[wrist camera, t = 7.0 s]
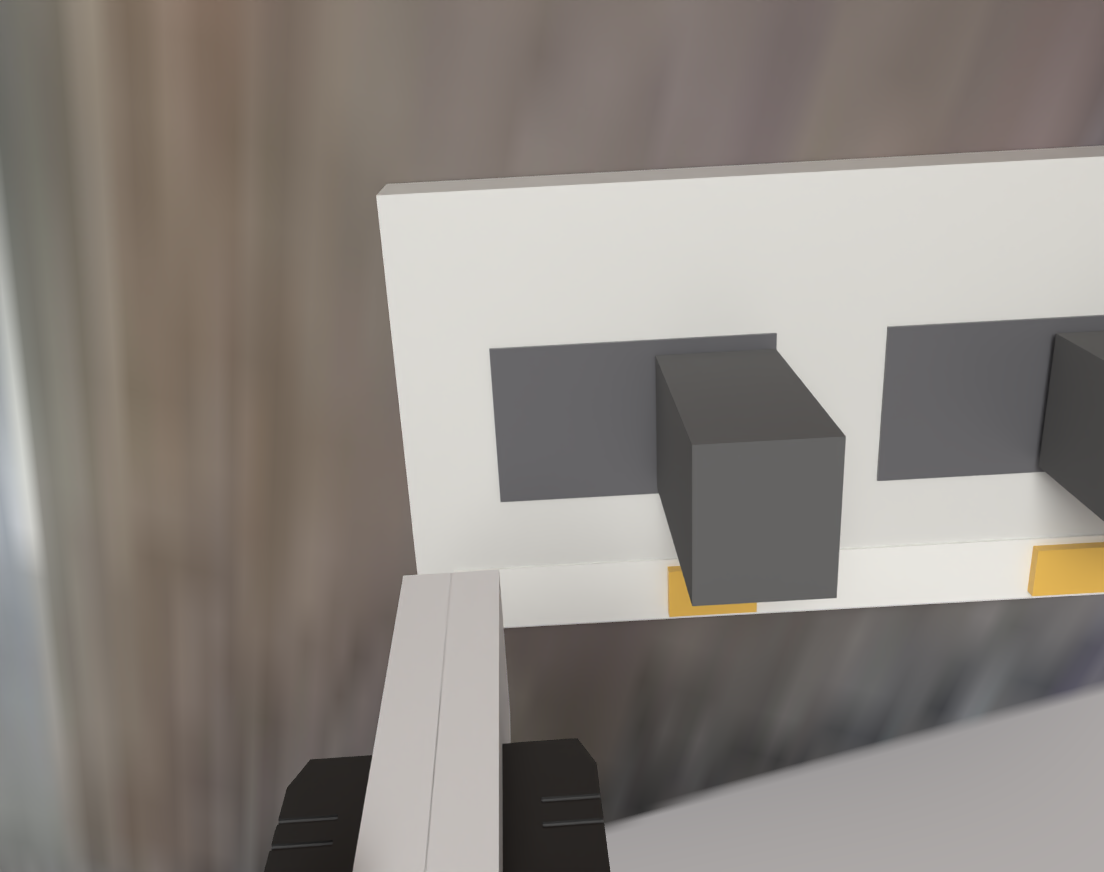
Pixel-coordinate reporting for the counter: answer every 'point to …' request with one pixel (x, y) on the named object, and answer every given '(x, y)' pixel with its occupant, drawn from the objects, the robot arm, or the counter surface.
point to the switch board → (737, 325)
